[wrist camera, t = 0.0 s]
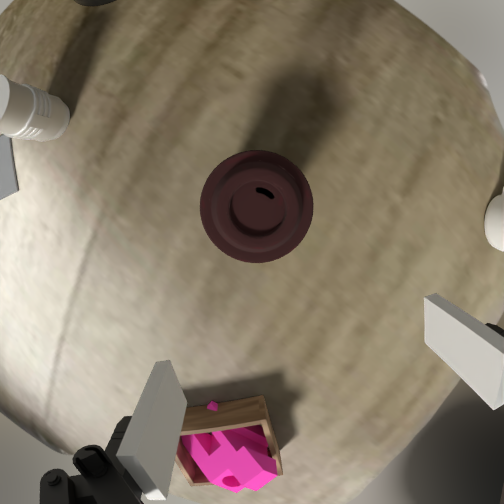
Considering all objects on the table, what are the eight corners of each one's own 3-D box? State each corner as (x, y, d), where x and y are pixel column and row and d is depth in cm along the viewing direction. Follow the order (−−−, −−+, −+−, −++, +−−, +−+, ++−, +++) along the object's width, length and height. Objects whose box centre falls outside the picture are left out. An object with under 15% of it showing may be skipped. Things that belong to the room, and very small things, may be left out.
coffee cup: (238, 252, 42) (236, 288, 28) (198, 186, 41) (174, 188, 26) (304, 213, 42) (338, 230, 27) (266, 146, 40) (280, 126, 25)
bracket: (272, 431, 49) (277, 475, 39) (236, 461, 50) (236, 504, 40) (211, 400, 47) (206, 445, 37) (179, 434, 48) (170, 477, 38)
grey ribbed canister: (58, 151, 39) (-9, 143, 24) (29, 132, 38) (-37, 121, 23) (81, 108, 38) (20, 84, 23) (50, 91, 37) (-11, 67, 22)
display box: (166, 409, 47) (159, 433, 42) (263, 394, 47) (265, 419, 41) (194, 463, 50) (190, 486, 44) (279, 451, 50) (283, 474, 44)
